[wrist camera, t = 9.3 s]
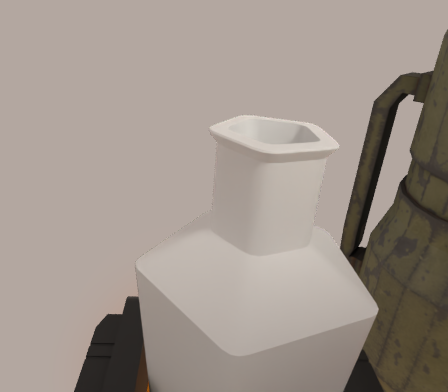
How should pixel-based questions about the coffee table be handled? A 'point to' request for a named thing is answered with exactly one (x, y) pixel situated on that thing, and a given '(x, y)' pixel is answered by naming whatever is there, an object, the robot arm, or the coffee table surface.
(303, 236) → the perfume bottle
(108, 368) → the robot arm
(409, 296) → the thermos
